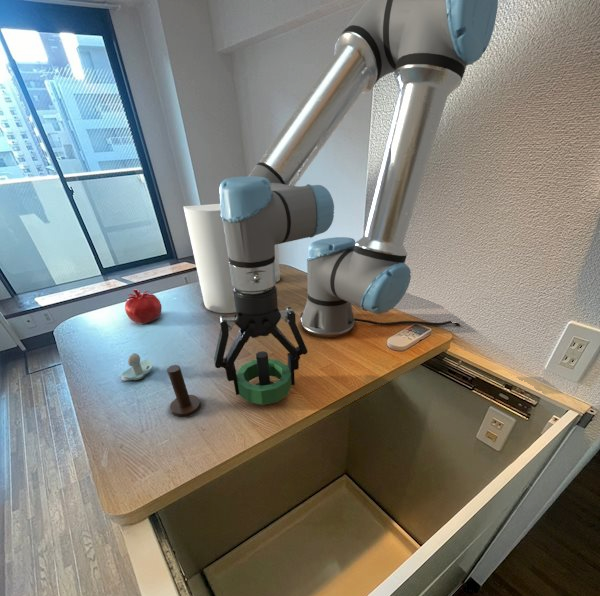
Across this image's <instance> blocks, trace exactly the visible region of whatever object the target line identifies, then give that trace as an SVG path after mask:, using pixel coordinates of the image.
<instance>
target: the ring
mask: <svg viewBox="0 0 600 596" xmlns="http://www.w3.org/2000/svg"><path fill="white" fill-rule="evenodd" d="M268 362H269V373H270V377H273V378H274V377H275V378H276V379H278V380H277V381H275V382H274V383H273V384H270V385H264V386H259V385H255V384H252V383H250V382H251V381H252V380H254V379H255V378H258V369H257V361H256V359H252V360H250V361H248V362H247V363H244V364H242V365H241V366H240V367H239V368H238V370H236V375H237V381H238V388H239V394H240V395H239V396H240V397H241V398H242V399H244V400H245V401H246V402H248V403H251V404H255V405H263V406H264V405H268V404H269V405H270V404H274V403H277V402H279V401H281V400H282V399H283V400H284V398H286V397H287V396H289V394H290V391H291V389H292V386H293V385H291V372H290V370H289V367H288V364H287V363H285V362H283V361H281V360H279V359H274V358H268Z"/></svg>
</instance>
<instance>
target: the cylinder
mask: <svg viewBox="0 0 600 596" xmlns="http://www.w3.org/2000/svg"><path fill="white" fill-rule="evenodd" d="M183 211H184V216H185V221H186V226H187V230H188V235H189V239H190V245H191V248H192V253H193V258H194V264H195V267H196V271H197V276H198V282H199V286H200V291H201V295H202V300H203V304H204V306H205V308H206V309H207V310H209V311H211V312H214V313H218V314H234V313H235V314H236V308H235V301H234V294H233V290H234V287H233V285H232V281H231V274H230V267H229V256H228V251H227V245H226V239H225V232H224V226H223V220H222V218H221V205H220V203H211V204H198V205H197V204H196V205H183Z"/></svg>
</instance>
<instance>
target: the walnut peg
mask: <svg viewBox="0 0 600 596" xmlns="http://www.w3.org/2000/svg"><path fill="white" fill-rule="evenodd" d="M166 372H167V375H168V377H169V378H168V379H169V380H170V384H171V387H172V389H173V392H174V395H175V399H173V400H172V401H171V403H170V405H169V409H170V413H171V414H172V415H173V416H175V417H177V418H188V417H191V416H193V415H195V414H197V413H198V411H199V410H200V409H201V406H202V404H201V400H200V398H199V397H198V396H196V395H194V394H189V392H188V389H187V385H186V382H185V378H184V376H183V372H182V369H181V366H179V365H178V364H171V365H170V366H169V365H168V367H167V368H166Z"/></svg>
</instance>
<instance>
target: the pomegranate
mask: <svg viewBox="0 0 600 596" xmlns="http://www.w3.org/2000/svg"><path fill="white" fill-rule="evenodd" d="M132 291H133V292H134V294H132V293H129V294H128V298H127V297H126V299H127V300H126V301H125V304H124V311H125V313H126V316H127V317H128V318H129V319H130V320H131V321H133V322H134V323H137V324H142V325H144V324H148V323H151V322H153V321H155V320H156V319H158V318H160V316H161V313H162V310H163V309H162V304H161V300H160V299H159V298H158V297H157V296H156V295H155V294H153V293H150V292H149V291H148V290H147V291H144V292H143V293H141V290H138V289H137V288H135V289H133V290H132Z"/></svg>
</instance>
